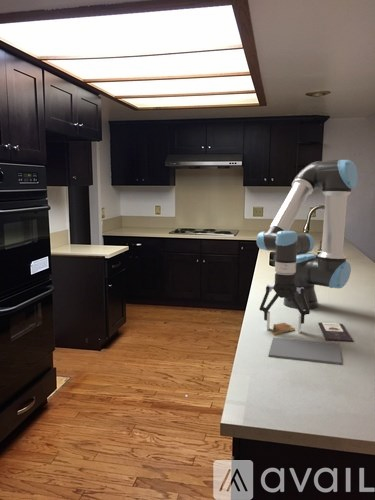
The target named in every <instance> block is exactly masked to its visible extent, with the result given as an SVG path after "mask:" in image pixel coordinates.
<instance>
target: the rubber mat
mask: <svg viewBox="0 0 375 500" xmlns="http://www.w3.org/2000/svg"><path fill="white" fill-rule="evenodd" d="M268 357H269V358H270V357H272V358H279V359H281V358H282V359H287V360H289V359H290V360H299V361H307V362H317V363H325V364H334V365H342V364H343V360H342V356H341V349H340V343H336V342H335V343H334V342H327V341H326V342H325V341H313V340H303V339H294V338H285V337H272V340H271V344H270V348H269V350H268Z"/></svg>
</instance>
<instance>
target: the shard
mask: <svg viewBox="0 0 375 500" xmlns="http://www.w3.org/2000/svg"><path fill="white" fill-rule="evenodd" d="M295 330H296V329H295V327H293V326H292V325H290V324H288V323H286V322H279V323H274V324H273V327H272V333H273V336H276V335H279V334H283V333H289V332H293V331H295Z"/></svg>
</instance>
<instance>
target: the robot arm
mask: <svg viewBox="0 0 375 500" xmlns="http://www.w3.org/2000/svg"><path fill="white" fill-rule="evenodd" d="M358 179H359V174H358V169H357V167H356V164H355V163H354V162H353V161H352V160H350V159H334V160H318V161H314V162H311V163H309V164H308V165H306V166H305V167H304V168H302V169H301V170H300V171H299V173H298V174H296V176H295V177H294V179H293V181H292V182H291V189H290V190H289V192H288V194H287V195H286V197H285V200H284V201H283V203H282V204H281V207H280V208H279V210H278V211H277V213H276V215H275V216H274V219H273V220H272V222H271V224H270V226H269V227H268V229H267V231H266V230H264V231H260V232H259V233H257V237H256V245H257V247H258V248H259V249H260V250H264V251H268V252H275V260H274V261H275V262H274V264H275V265H274V272H275V273H274V285H270V284H267V285H266V287H265V294H264V296H263V298H262V302H261V304H260V306H259V309H258V310H259V311H261V312H263V320H264V321H266V330H268V331H269V330H270V322H271V311H269V310H270V309H271V307H272V306H273V305H274V304H275V302H276V301H277V299H279V298H280V299H282V298H283V305H284V306H286V307H289V308H293V309H297V310H298V313H299V314H298V333H299V334H301V331H302V324H303V325H304V324H305V316H306V315H310V314H311V313H310V310H311V309H315V308H317V307H318V306H319V305H318V304H319V300H318V297H317V294H316V290H315V286H320V287H321V286H322V287H325V288H330V289H342V288H344V286H346V285H347V283H348V282H349V279H350V276H351V271H352V267H351V264H350V263H349V262H348V261H347V256H346V255H345V254H344V242H345V241H344V240H345V239H344V238H345V230H346V229H345V228H346V227H345V225H346V215H347V214H346V212H347V202H348V200H347V199H348V196H349V195H350V194H351V193H352V189H355V188H356V187H357V185H358ZM316 189H321V193H322V194H323V195H324V196H325V199H324V212H323V213H324V215H323V228H322V239H321V240H322V241H321V242H322V243H321V251H320V253H319V254H318V255H317V257H316V254H312V253H310V252H312V250H314V248H315V239H314V238H313V236H312V235H310V234H309V233H301V234H300V233H299V234H298V232H297V231H294V230H290V229H291V227H292V225H293V223H294V222H295V220H296V219H297V216H298V214H299V213H300V210H301V208H302V207H303V205H304V203H305V202H306V200H307V198H308V196H310V195H312V194H313V192H314V191H315V190H316ZM309 253H310V254H309ZM272 290H273V291H274V292H275V294H274V296H273V297H272V298H271V300H270V302H269V303H268V304H267V305H266V307H265V304H266V302H267V299H268V297H269V294H270V292H273V291H272Z"/></svg>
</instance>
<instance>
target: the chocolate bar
mask: <svg viewBox="0 0 375 500" xmlns="http://www.w3.org/2000/svg"><path fill="white" fill-rule="evenodd" d="M318 326H319V328H320V330H321V333H322V335H323V337H324V339H325V341H326V342H328V341H329V342H346V343H347V342H348V343H351V342H352V343H353V342H354V340H353V338H352V337H351V335H350V333H349V332H348V330H347V329H346V328H345V326H344V324H343V323H333V322H332V323H331V322H330V323H329V322H318Z"/></svg>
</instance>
